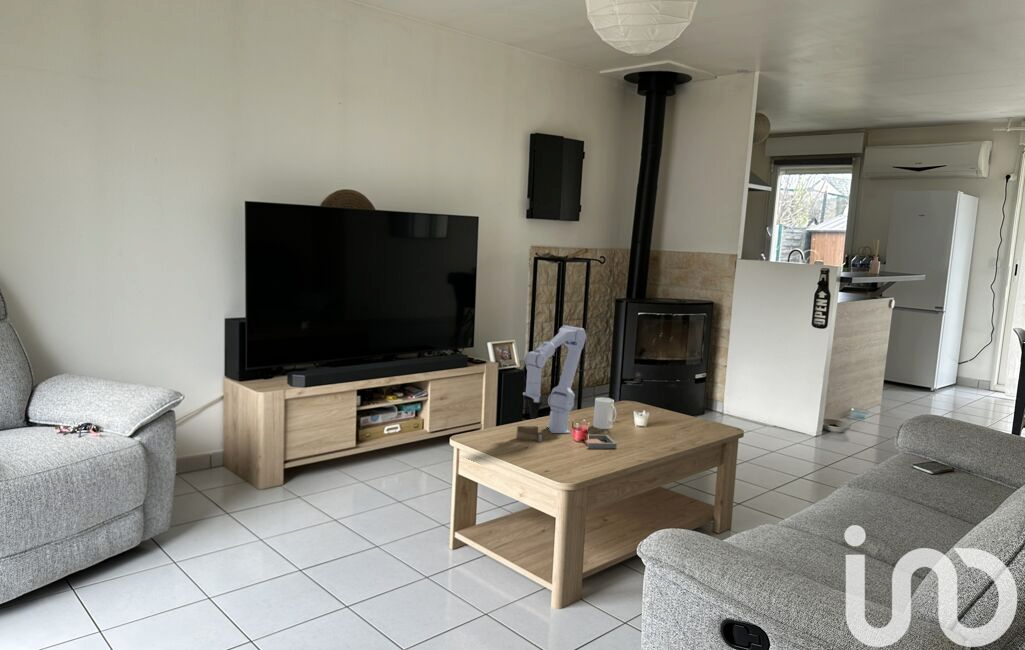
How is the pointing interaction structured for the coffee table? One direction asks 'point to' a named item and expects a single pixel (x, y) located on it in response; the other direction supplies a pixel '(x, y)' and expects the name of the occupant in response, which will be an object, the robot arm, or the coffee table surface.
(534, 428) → the plank on grey base
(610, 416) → the mug
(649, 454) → the coffee table surface
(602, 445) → the frame
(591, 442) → the tile
